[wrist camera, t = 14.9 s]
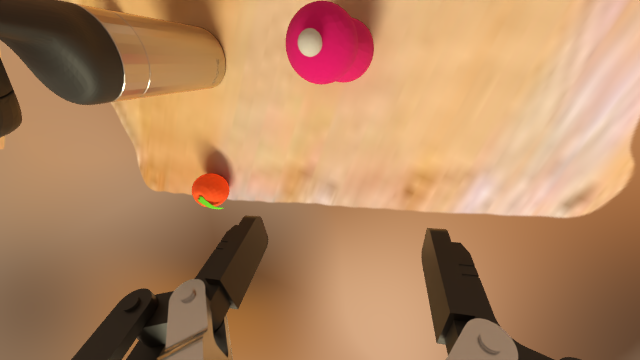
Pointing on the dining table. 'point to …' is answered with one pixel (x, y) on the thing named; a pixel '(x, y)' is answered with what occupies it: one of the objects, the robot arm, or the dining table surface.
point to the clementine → (210, 190)
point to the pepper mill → (328, 44)
